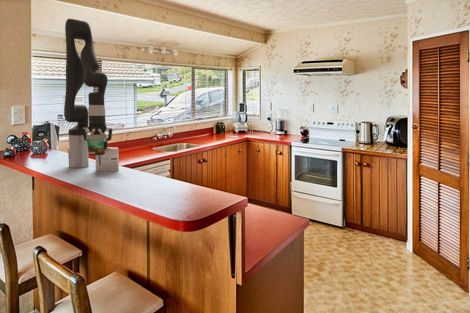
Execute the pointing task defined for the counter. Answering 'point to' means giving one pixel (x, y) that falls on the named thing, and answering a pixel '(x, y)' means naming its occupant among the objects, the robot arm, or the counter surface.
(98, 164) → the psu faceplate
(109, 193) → the counter surface
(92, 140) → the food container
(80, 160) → the robot arm
